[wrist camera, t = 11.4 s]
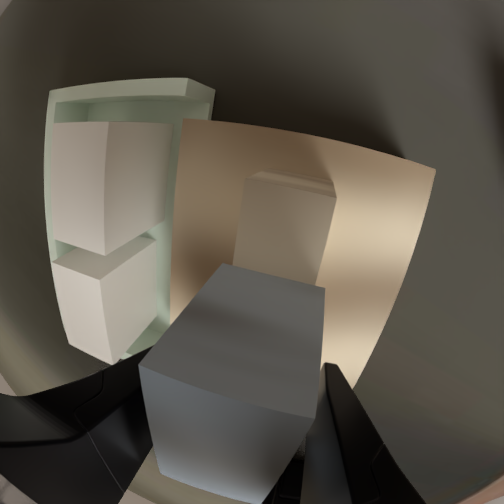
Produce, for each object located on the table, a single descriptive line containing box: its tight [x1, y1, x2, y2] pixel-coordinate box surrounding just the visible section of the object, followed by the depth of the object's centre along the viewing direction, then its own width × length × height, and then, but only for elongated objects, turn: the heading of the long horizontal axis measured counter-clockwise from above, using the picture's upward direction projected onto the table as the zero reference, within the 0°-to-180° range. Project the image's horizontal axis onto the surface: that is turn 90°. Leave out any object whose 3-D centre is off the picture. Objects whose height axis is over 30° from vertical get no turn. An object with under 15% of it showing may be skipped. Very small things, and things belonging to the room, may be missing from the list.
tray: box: [44, 78, 215, 359], centre depth 16 cm, size 17×9×4 cm, turn 171°
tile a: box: [51, 236, 157, 365], centre depth 16 cm, size 6×6×4 cm
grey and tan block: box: [138, 168, 337, 504], centre depth 9 cm, size 10×3×8 cm, turn 171°
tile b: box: [51, 121, 174, 256], centre depth 13 cm, size 6×6×4 cm
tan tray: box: [170, 118, 436, 389], centre depth 14 cm, size 13×10×4 cm
